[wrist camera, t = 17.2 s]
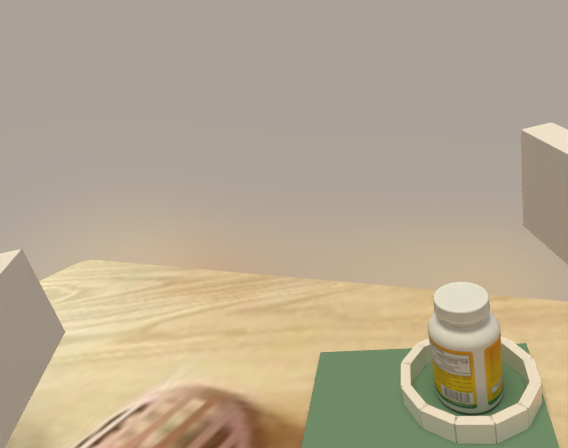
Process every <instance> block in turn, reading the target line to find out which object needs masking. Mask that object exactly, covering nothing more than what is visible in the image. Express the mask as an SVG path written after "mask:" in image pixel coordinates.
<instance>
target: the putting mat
mask: <svg viewBox="0 0 568 448" xmlns="http://www.w3.org/2000/svg"><path fill="white" fill-rule="evenodd" d="M516 345H518V346H519V347H520V348H521V349H523V350H524V351H525V352H527V353H528V354H529V351H528V348H527V344H526V343H523V344H516ZM411 350H412V348H411V349H388V350H365V351H343V352H321V353H320V358H319V363H318V368H317V373H316V378H315V383H314V388H313V393H312V397H311V402H310V407H309V412H308V417H307V422H306V427H305V432H304V437H303V442H302V447H301V448H559V445H558V442H557V439H556V436H555V433H554V429H553V426H552V423H551V420H550V417H549V414H548V411H547V407H546V404H545V401H544V398H543V395H542V404H541V406H540V408H539V410H538V412H537V414H536V416H535V418H534V420H533V422H532V424H531V426H530V428H529V427H528V429H527V430H525V431H523V432H521V433H518V434H516V435H514V436H512V437H510V438H508V439H506V440H504V441H502V442H500V443H497V442H496V444H458V443H457V442H456V443H454V442H452V441H450V440H447V439H445V438H443V437H441V436H438V435H436V434H434V433H432V432H429V431H427V430H425V429H423V427H421V426H420V425H419V423H418V422H417V421H416V419H415V418H414V417H413V416H412V414H411V413H410V412H409V410H408V409H407V408H406V407H405V405H404V401H403V396H402V390H401V362H402V361H403V359H404V358H405V357H406V356H407V355H408V353H409V352H410V351H411ZM529 355H530V354H529ZM502 373H503V395H502V398H501V399H500V401H499V402H498V403H497V405H496V406H494V407H493V408H492V409H490V410H488V411H485V412H482V413H475V414H469V413H462V412H458V411H456V410H453V409H451V408H450V407H448V406H447V405H445V404H444V403H443V402H442V401H441V400H440V398H439V397H438V395H437V392H436V389H435V382H434V373H433V365H432V362H430V363H428V364H426V365H425V366H424V368H423V369H422V370H421V372H420V373H419V374H418V376H417V377H416V378H415V380H414V381H413V388H414V389H415V391H416V392H417V393H418V394H419V395H420V397H421V398H422V399H423V400H424V401H425V403H426V404H428V405H430V406H433V407H435V408H438V409H440V410H443V411H445V412H447V413H450V414H452V415H455V416H491V415H494V414H496V413H498V412H500V411H502V410H504V409H506V408H508V407H510V406H513V405H515V404H517V403H518V402H519V400H520V399H521V397H522V395H523V393H524V391H525V389H526V388H527V387H526V384H525V380H524V378H523V377H522V376H521V375H519V374H518V373H517V372H516V371H515V370H513V369H512V368H511V367H510V366H509V365H508V364H506V363H505V362H504V361H502Z"/></svg>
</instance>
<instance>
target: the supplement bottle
mask: <svg viewBox="0 0 568 448" xmlns="http://www.w3.org/2000/svg"><path fill="white" fill-rule="evenodd" d="M433 301H434V311H435V312H434V313H433V314H432V316H431V317H430V320H429V322H428V335H429V343H430V350H431V357H432V365H433V373H434V382H435V389H436V392H437V395H438V397H439V398H440V400H441V401H442V402H443V403H444V404H445V405H447V406H448V407H450V408H451V409H453V410H456V411H458V412H462V413H469V414H475V413H482V412H485V411H488V410H490V409H492V408H493V407H494V406H496V405H497V403H498V402H499V401H500V399H501V398H502V395H503V373H502V355H501V334H500V324H499V321H498V319H497V318H496V316H495V315H494V314H493V313H492V312H491V311H490V304H489V296H488V293H487V292H486V290H485V289H484V288H482V287H481V286H479V285H476V284H474V283H469V282H453V283H449V284H446V285H444V286H442V287H440V288H439V289H438V290H437V291H436V292H435V293H434V296H433Z"/></svg>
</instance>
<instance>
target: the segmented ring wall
mask: <svg viewBox="0 0 568 448" xmlns="http://www.w3.org/2000/svg"><path fill="white" fill-rule="evenodd" d="M501 355H502V361H504V362H505V363H506V364H508V365H509V366H510V367H511V368H512V369H513V370H515V371H516V372H517V373H518V374H519V375H521V376H522V377H523V378H524V380H525V384H526V387H527V388H526V389H525V391H524V393H523V395H522V397H521V399H520V400H519V402H518V403H517V404H515V405H513V406H510V407H508V408H506V409H504V410H502V411H500V412H498V413H496V414H494V415H491V416H455V415H452V414H450V413H447V412H445V411H443V410H440V409H438V408H435V407H433V406H430V405H428V404H426V403H425V401H424V400H423V399H422V398H421V397H420V395H419V394H418V393H417V392H416V391H415V389H414V388H413V381H414V380H415V378H416V377H417V376H418V374H419V373H420V372H421V370H422V369H423V368H424V366H425V365H426V364H428V363H430V362H432V357H431V350H430V343H429V338H428V339H425V340H423V341H421V342H418V344H416V345H415V346H414V347H413V348H412V350H411V351H410V352H409V353H408V355H407V356H406V357H405V358H404V359H403V361H402V362H401V390H402V396H403V401H404V405H405V407H406V408H407V409H408V410H409V412H410V413H411V414H412V416H413V417H414V418H415V419H416V421H417V422H418V423H419V425H420V426H421V427H423V429H425V430H427V431H429V432H432V433H434V434H436V435H438V436H441V437H443V438H445V439H447V440H450V441H452V442H454V443H456V442H457V443H458V444H496V442H497V443H500V442H502V441H504V440H506V439H508V438H510V437H512V436H514V435H516V434H518V433H521V432H523V431H525V430H527V429H528V427H529V428H530V426H531V424H532V422H533V420H534V418H535V416H536V414H537V412H538V410H539V408H540V406H541V404H542V383H541V380H540V377H539V374H538V371H537V368H536V364H535V361H534V358H533V357H532V356H530V355H529V354H528V353H527V352H525V351H524V350H523V349H521V348H520V347H519V346H518V345H516V344H515V343H514V342H512V341H511V340H510V339H509V340H508V338H504V337H501Z"/></svg>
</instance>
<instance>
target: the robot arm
mask: <svg viewBox="0 0 568 448" xmlns="http://www.w3.org/2000/svg"><path fill="white" fill-rule="evenodd" d="M521 145H522V187H523V188H522V189H523V190H522V192H523V226H524V227H525V228H526V229H528V230H529V231H530V232H531V233H532V234H533V235H534V236H536V237H537V238H538V239H539V240H540V241H541V242H543V243H544V244H545V245H546V246H547V247H549V249H551V250H552V251H553V252H554V253H555V254H556V255H557V256H559V257H560V258H561V259H562V260H563V261H564V262H565V263H567V264H568V130H567V129H565V128H563V127H560V126H558V125H556V124H554V123H547V124H543V125H539V126H535V127H530V128H526V129H522V130H521ZM64 333H65V331H64V329H63V327H62V325H61V323H60V321H59V319H58V317H57V315H56V313H55V311H54V309H53V308H52V306H51V304H50V302H49V300H48V298H47V296H46V294H45V292H44V290H43V288H42V287H41V285H40V283H39V281H38V279H37V277H36V275H35V273H34V271H33V269H32V267H31V266H30V264H29V262H28V260H27V258H26V256H25V254H24V252H23V250H22V249H19V250H15V251H10V252H6V253H2V254H0V448H5V446H6V444H7V442H8V440H9V438H10V436H11V434H12V432H13V430H14V429H15V427H16V425H17V423H18V421H19V419H20V417H21V415H22V413H23V411H24V409H25V407H26V406H27V404H28V402H29V400H30V398H31V396H32V394H33V392H34V390H35V388H36V386H37V385H38V383H39V381H40V379H41V377H42V375H43V373H44V371H45V369H46V367H47V365H48V363H49V362H50V360H51V358H52V356H53V354H54V352H55V350H56V348H57V346H58V344H59V342H60V341H61V339H62V337H63V335H64Z"/></svg>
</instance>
